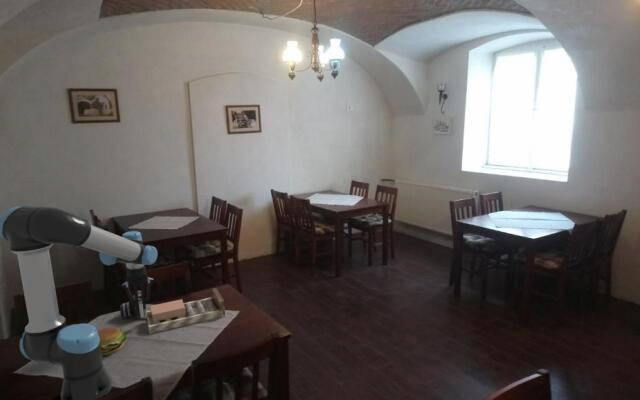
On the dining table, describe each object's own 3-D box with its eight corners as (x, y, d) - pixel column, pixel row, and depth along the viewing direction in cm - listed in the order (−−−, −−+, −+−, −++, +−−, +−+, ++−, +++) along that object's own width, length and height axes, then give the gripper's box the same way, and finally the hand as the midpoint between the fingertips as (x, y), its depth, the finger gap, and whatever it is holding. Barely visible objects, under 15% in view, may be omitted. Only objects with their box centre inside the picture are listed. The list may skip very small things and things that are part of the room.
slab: (153, 322, 182) (152, 314, 182) (151, 312, 191) (150, 305, 190) (185, 314, 188) (185, 307, 188) (182, 306, 197) (182, 299, 196)
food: (91, 363, 159) (88, 344, 157) (87, 346, 170) (84, 329, 169) (129, 351, 166) (127, 333, 165) (124, 336, 178) (121, 319, 176)
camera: (121, 311, 202) (119, 292, 200) (145, 306, 206) (143, 287, 204) (121, 323, 189) (118, 303, 187) (147, 318, 194) (144, 298, 192)
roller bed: (149, 333, 179) (147, 317, 178) (147, 317, 194) (145, 302, 193) (225, 315, 193) (223, 300, 192) (217, 302, 208) (216, 288, 206)
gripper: (119, 272, 174) (126, 323, 179) (152, 266, 180) (158, 316, 184) (119, 266, 181) (126, 316, 185) (151, 261, 186) (157, 309, 191)
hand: (142, 316), depth 185 cm, fingers closed
